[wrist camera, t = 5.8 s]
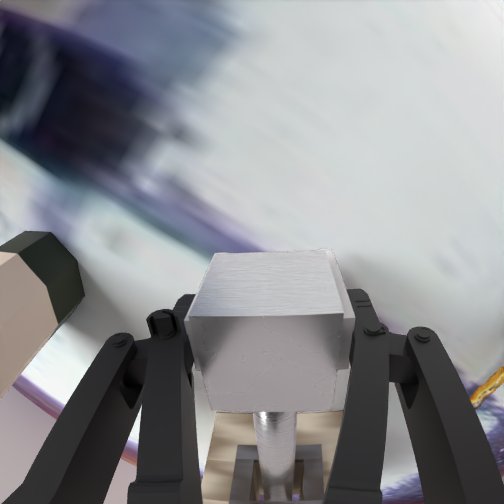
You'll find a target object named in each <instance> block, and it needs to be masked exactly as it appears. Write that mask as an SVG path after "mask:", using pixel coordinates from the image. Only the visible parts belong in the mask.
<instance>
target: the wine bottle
mask: <svg viewBox="0 0 504 504" xmlns="http://www.w3.org/2000/svg"><path fill="white" fill-rule="evenodd" d="M84 296H85V294H84V290H83V286H82V282H81V278H80V273H79V269H78V264H77V260H76V259H75V258H74V257H73V256H72V255H71V254H70V253H69V252H68V251H67V249H66V248H65V247H64V246H63V245H62V244H61V243H60V242H59V241H58V240H57V239H56V237H55V236H54V235H53V234H52V233H51V232H39V231H24V232H23V233H21V234H19V235H18V236H16V237H14V238H13V239H11V240H9V241H8V242H6V243H5V244H3V245H1V246H0V400H1V399H2V398H3V396H4V395H5V394H6V392H7V391H8V390H9V388H10V387H11V386H12V384H13V383H14V382H15V381H16V379H17V378H18V377H19V375H20V374H21V373H22V372H23V370H24V369H25V368H26V367H27V365H28V364H29V363H30V362H31V361H32V359H33V358H34V357H35V356H36V354H37V353H38V352H39V351H40V350H41V348H42V347H43V346H44V345H45V344H46V343H47V341H48V340H49V339H50V338H51V337H52V336H53V334H54V333H55V332H56V331H57V330H58V329H59V328H60V326H61V325H62V324H63V323H64V322H65V321H66V320H67V319H68V317H69V316H70V315H71V314H72V313H73V311H74V310H75V308H76V307H77V306H78V304H79V303H80V302H81V300H82V299H83V298H84Z"/></svg>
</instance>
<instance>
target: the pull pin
mask: <svg viewBox="0 0 504 504" xmlns="http://www.w3.org/2000/svg"><path fill="white" fill-rule="evenodd" d="M343 318H344V311H343V308H342V304H341V301H340V297H339V294H338V290H337V287H336V284H335V280H334V277H333V274H332V270H331V267H330V264H329V261H328V257H327V254H326V251H325V250H315V251H286V252H258V253H230V254H216V256H215V258H214V260H213V262H212V265H211V267H210V269H209V271H208V273H207V276H206V278H205V280H204V282H203V284H202V287H201V289H200V291H199V293H198V295H197V298H196V300H195V302H194V304H193V307H192V309H191V311H190V313H189V321H190V325H191V330H192V334H193V339H194V343H195V347H196V351H197V355H198V360H199V364H200V368H201V372H202V375H203V379H204V383H205V387H206V391H207V395H208V398H209V402H210V406H211V409H212V410H221V411H244V412H253V418H254V426H255V433H256V441H257V448H258V455H259V463H260V470H261V477H262V484H263V491H264V498H265V501H292V493H293V480H294V466H295V450H296V432H297V411H320V410H331V409H332V403H333V397H334V390H335V383H336V376H337V369H338V362H339V354H340V346H341V337H342V328H343Z"/></svg>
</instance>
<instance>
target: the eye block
mask: <svg viewBox="0 0 504 504" xmlns="http://www.w3.org/2000/svg"><path fill="white" fill-rule="evenodd" d="M342 416H343V411H336V412H321V413H300V414H297V432H296V450H295V466H294V480H293V493H292V494H299V501H259V499H260V494H264V491H263V484H262V477H261V470H260V463H259V455H258V448H257V441H256V433H255V426H254V418H253V414H242V413H220V412H217V415H216V420H215V424H214V429H213V433H212V438H211V443H210V447H209V452H208V457H207V461H206V466H205V471H204V475H203V480H202V484H201V491H202V500H203V504H322V501H323V497H324V494H325V490H326V486H327V482H328V479H329V475H330V471H331V467H332V463H333V458H334V454H335V450H336V445H337V441H338V436H339V431H340V427H341V422H342Z"/></svg>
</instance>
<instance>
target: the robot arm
mask: <svg viewBox="0 0 504 504" xmlns="http://www.w3.org/2000/svg"><path fill="white" fill-rule="evenodd" d="M318 250H325V251H326V254H327V257H328V261H329V264H330V267H331V270H332V274H333V277H334V280H335V284H336V287H337V290H338V294H339V297H340V301H341V304H342V308H343V311H344V318H343V328H342V337H341V346H340V354H339V362H338V369H337V370H339V369H348V366H349V360H350V365H351V370H350V376H349V381H348V388H347V394H346V400H345V406H344V411H343V416H342V422H341V427H340V431H339V436H338V441H337V445H336V450H335V454H334V458H333V463H332V467H331V471H330V475H329V479H328V482H327V486H326V490H325V494H324V497H323V501H322V504H382V492H381V490H380V483H381V476H382V468H383V460H384V451H385V441H386V429H387V414H388V394H389V382H395V386H396V389H397V392H398V396H399V399H400V403H401V406H402V409H403V413H404V417H405V420H406V424H407V427H408V431H409V435H410V439H411V443H412V447H413V451H414V455H415V459H416V463H417V467H418V472H419V476H420V481H421V486H422V491H423V495H424V501H425V504H504V484H503V481H502V478H501V475H500V472H499V469H498V466H497V463H496V461H495V458H494V455H493V453H492V450H491V447H490V445H489V442H488V440H487V437H486V435H485V432H484V430H483V428H482V425H481V423H480V421H479V418H478V416H477V414H476V411H475V409H474V407H473V405H472V403H471V400H470V398H469V396H468V394H467V392H466V390H465V388H464V386H463V384H462V382H461V380H460V377H459V375H458V373H457V372H456V370H455V368H454V366H453V364H452V362H451V360H450V358H449V356H448V354H447V352H446V350H445V349H444V347H443V345H442V343H441V341H440V339H439V338H438V336H437V334H436V333H435V332H434V331H433V330H431V329H429V328H426V327H415V328H412V329H411V330H409V332H408V334H407V336H406V335H398V334H393V333H390V332H389V331H388V328H387V327H386V326H385V325H384V324H382V323H380V322H379V320H378V318H377V315H376V313H375V311H374V308H373V307H372V303H371V301H370V299H369V296H368V294H367V293H366V292H364V291H363V290H362V289H348V290H346V288H345V285H344V282H343V279H342V276H341V273H340V270H339V267H338V265H337V262H336V259H335V256H334V253H333V251H332V249H318ZM216 254H228V253H215V254H214V257H213V259H212V261H211V263H210V265H209V267H208V269H207V271H206V274H205V276H204V278H203V280H202V282H201V284H200V287H199V289H198V291H197V293H196V294H185V295H183V296H182V297H181V298H180V299H178V301H177V303H176V305H175V307H174V308H173V310H170V309H162V310H157V311H155V312H153V313H151V314H150V315H149V316H148V317H147V319H146V321H147V324H148V327H149V331H150V334H151V338H149V339H144V340H138V341H134V339H133V336H132V335H131V334H129V333H118V334H115V335H113V336H111V337H110V338H109V339H108V340H107V341H106V342H105V344H104V345H103V347H102V348H101V350H100V351H99V353H98V354H97V356H96V357H95V359H94V361H93V362H92V364H91V365H90V367H89V368H88V370H87V372H86V373H85V375H84V376H83V378H82V379H81V381H80V383H79V384H78V386H77V388H76V389H75V391H74V392H73V394H72V396H71V397H70V399H69V401H68V402H67V404H66V406H65V407H64V409H63V411H62V412H61V414H60V416H59V418H58V419H57V421H56V423H55V424H54V426H53V428H52V430H51V431H50V433H49V435H48V437H47V438H46V440H45V442H44V444H43V446H42V448H41V449H40V451H39V453H38V455H37V457H36V459H35V460H34V462H33V464H32V466H31V468H30V470H29V472H28V474H27V476H26V478H25V480H24V482H23V483H22V484H21V486H19V487H18V488H17V489H16V490H15V491H14V492H13V493H12V494H11V495H10V496H9V497H8V498H7V499H6V500H5V501H4V502H3V503H2V504H103V503H104V500H105V497H106V494H107V492H108V489H109V486H110V484H111V481H112V478H113V475H114V473H115V470H116V467H117V465H118V463H119V460H120V457H121V455H122V452H123V450H124V447H125V445H126V442H127V440H128V437H129V435H130V432H131V430H132V427H133V425H134V422H135V420H136V417H137V415H138V412H139V410H140V408H141V405H142V410H141V421H140V432H139V444H138V458H137V476H136V480H135V481H134V482H132V483H130V485H129V487H128V496H127V497H128V499H127V504H203V500H202V491H201V481H200V470H199V459H198V447H197V433H196V418H195V400H194V379H193V373H192V370H191V369H192V366H193V363H194V364H195V368H196V370H198V371H201V368H200V364H199V360H198V355H197V351H196V347H195V343H194V339H193V334H192V330H191V325H190V321H189V313H190V311H191V309H192V307H193V304H194V302H195V300H196V298H197V295H198V293H199V291H200V289H201V287H202V284H203V282H204V280H205V278H206V276H207V273H208V271H209V269H210V267H211V265H212V262H213V260H214V258H215V256H216Z"/></svg>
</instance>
